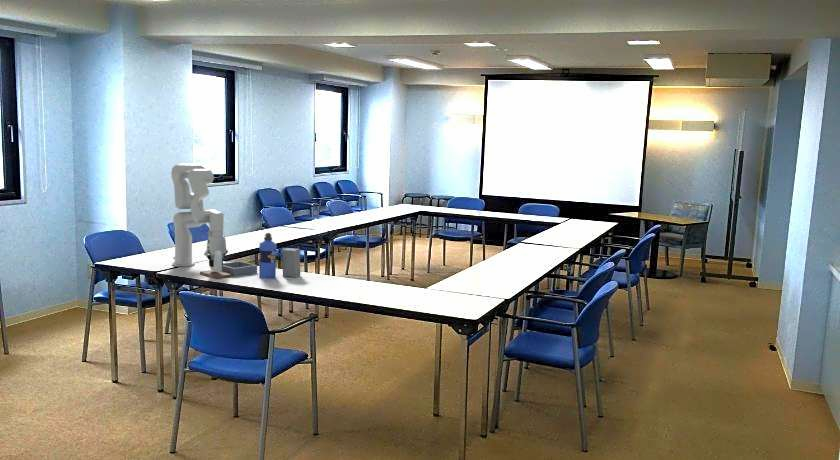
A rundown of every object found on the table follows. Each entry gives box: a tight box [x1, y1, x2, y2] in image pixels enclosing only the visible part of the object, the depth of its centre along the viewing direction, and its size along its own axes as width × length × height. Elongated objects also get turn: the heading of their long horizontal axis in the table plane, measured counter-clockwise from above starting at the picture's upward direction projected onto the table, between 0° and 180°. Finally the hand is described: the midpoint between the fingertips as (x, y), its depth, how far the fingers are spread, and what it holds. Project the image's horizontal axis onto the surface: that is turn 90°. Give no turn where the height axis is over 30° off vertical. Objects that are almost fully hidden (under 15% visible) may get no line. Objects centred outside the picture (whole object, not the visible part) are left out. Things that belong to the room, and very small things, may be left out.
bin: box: [222, 260, 258, 277], centre depth 402 cm, size 16×16×4 cm
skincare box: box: [281, 247, 301, 278], centre depth 399 cm, size 8×7×16 cm
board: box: [199, 269, 233, 280], centre depth 391 cm, size 16×10×2 cm, turn 50°
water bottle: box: [258, 232, 277, 279], centre depth 393 cm, size 9×9×25 cm
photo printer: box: [209, 250, 222, 272], centre depth 390 cm, size 10×4×12 cm, turn 34°
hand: (216, 265), depth 391 cm, fingers closed on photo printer, 5 cm apart
